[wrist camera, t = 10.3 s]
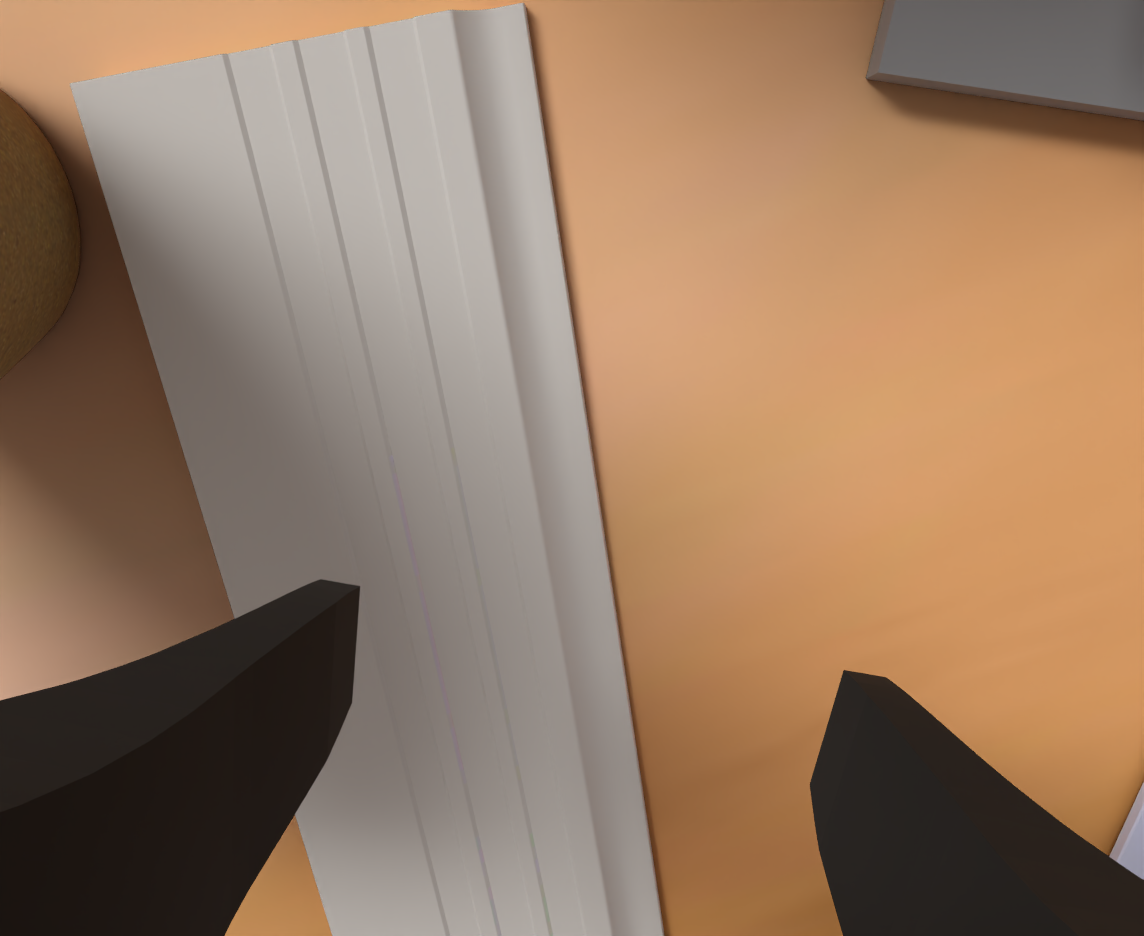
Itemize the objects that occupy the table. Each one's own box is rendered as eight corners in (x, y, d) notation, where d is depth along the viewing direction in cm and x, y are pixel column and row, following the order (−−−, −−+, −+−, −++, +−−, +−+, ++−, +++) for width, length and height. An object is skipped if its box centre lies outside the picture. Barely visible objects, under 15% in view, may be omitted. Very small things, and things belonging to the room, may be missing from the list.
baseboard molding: (592, 0, 19) (110, 91, 20) (582, -35, 16) (25, 75, 17) (720, 1011, 28) (385, 1021, 29) (729, 1101, 25) (358, 1107, 27)
